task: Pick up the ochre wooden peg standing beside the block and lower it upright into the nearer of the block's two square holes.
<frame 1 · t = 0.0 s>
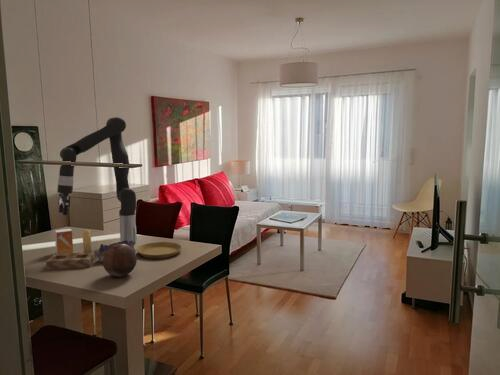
hand: (62, 213, 216), 22 cm above the table, fingers open, 8 cm apart
geode: (116, 258, 210), on the table
peg: (87, 256, 213), on the table
plant saucer: (159, 253, 219), on the table
hole block: (71, 264, 200), on the table
small box: (64, 253, 219), on the table
wooden sphere: (120, 276, 184), on the table
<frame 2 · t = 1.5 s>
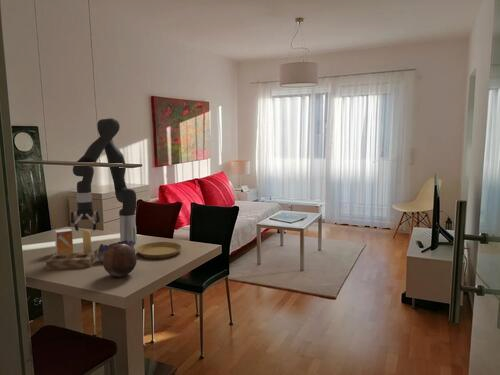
hand: (86, 230, 211), 14 cm above the table, fingers open, 8 cm apart
nothing on the table moved.
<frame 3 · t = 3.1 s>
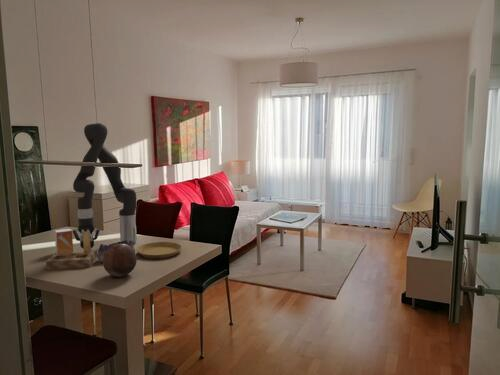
hand: (87, 247, 213), 5 cm above the table, fingers closed on peg, 4 cm apart
peg: (87, 256, 213), on the table, touching gripper
everything else where it was.
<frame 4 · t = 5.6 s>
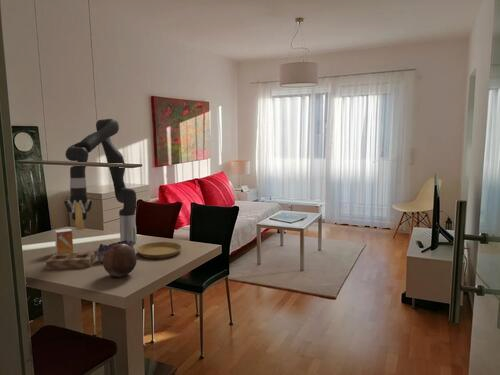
hand: (79, 219, 201), 22 cm above the table, fingers closed on peg, 4 cm apart
peg: (80, 228, 202), point 17 cm above the table, touching gripper
everything else where it was.
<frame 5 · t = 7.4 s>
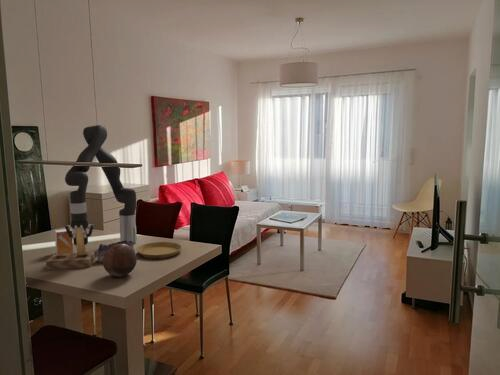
hand: (80, 244, 199), 10 cm above the table, fingers closed on peg, 4 cm apart
peg: (81, 253, 200), point 5 cm above the table, touching gripper
everything else where it was.
when the fingers open (6 cm above the table, at t = 8.5 s): peg drops 1 cm, resting in hole block.
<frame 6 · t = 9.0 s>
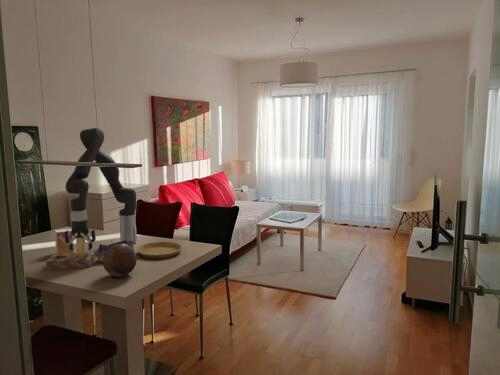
hand: (81, 250, 200), 7 cm above the table, fingers open, 8 cm apart
peg: (82, 263, 201), resting in hole block
everything else where it was.
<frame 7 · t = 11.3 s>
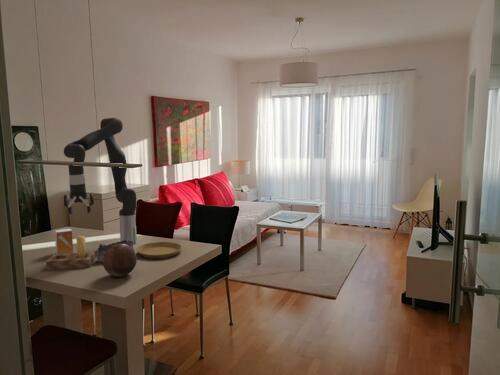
hand: (80, 213, 206), 24 cm above the table, fingers open, 8 cm apart
nothing on the table moved.
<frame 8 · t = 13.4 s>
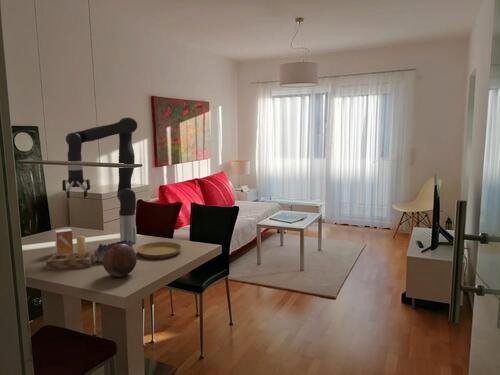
hand: (77, 197, 221), 30 cm above the table, fingers open, 8 cm apart
nothing on the table moved.
at the end: peg 0.1 cm from the target spot on the hole block, point 0.0 cm above the hole block's base; peg tilted 0°; the gripper is holding nothing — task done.
